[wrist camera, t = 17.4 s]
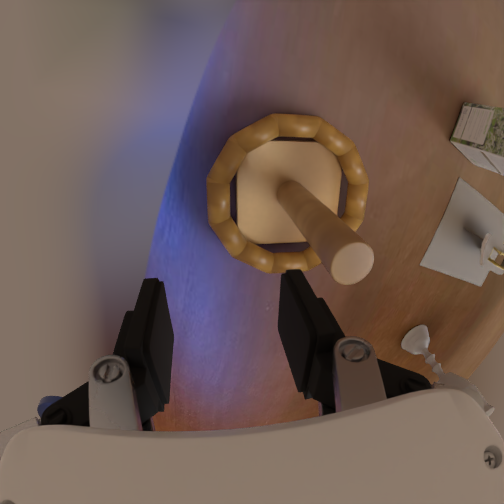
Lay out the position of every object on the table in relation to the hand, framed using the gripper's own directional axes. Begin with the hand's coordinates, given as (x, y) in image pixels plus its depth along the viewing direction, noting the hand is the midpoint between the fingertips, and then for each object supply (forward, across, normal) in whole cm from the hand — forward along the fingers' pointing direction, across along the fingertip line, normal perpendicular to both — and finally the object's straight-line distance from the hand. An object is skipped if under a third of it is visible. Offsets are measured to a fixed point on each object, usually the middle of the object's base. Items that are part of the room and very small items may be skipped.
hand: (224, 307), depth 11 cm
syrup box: (+15, -28, -9) cm, 33 cm away
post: (+15, -6, -1) cm, 16 cm away
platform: (+15, -34, +5) cm, 38 cm away
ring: (+13, -6, -1) cm, 14 cm away
